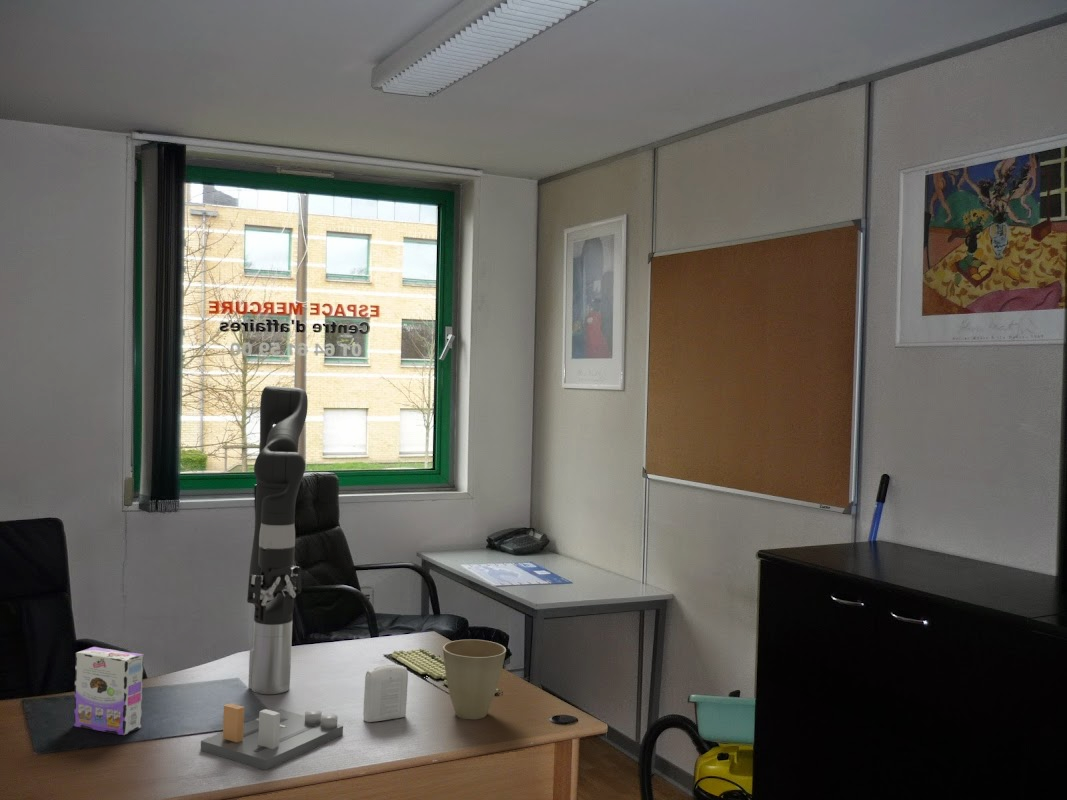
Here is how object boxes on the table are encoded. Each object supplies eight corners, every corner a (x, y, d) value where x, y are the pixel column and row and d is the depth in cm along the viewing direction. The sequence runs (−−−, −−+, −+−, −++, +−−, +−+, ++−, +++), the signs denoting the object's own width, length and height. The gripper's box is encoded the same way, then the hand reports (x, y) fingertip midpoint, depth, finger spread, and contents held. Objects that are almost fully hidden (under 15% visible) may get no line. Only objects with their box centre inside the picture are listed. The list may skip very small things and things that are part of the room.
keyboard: (382, 658, 287) (382, 649, 287) (428, 652, 295) (429, 644, 295) (463, 706, 250) (463, 695, 250) (513, 698, 258) (514, 688, 258)
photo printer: (400, 712, 242) (403, 660, 241) (408, 717, 238) (411, 665, 238) (360, 718, 236) (362, 665, 236) (368, 724, 233) (370, 670, 232)
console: (200, 750, 213) (202, 707, 212) (280, 718, 234) (282, 679, 234) (265, 770, 204) (267, 725, 204) (342, 734, 225) (344, 694, 225)
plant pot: (438, 724, 235) (441, 655, 234) (441, 703, 249) (444, 638, 249) (503, 726, 235) (506, 657, 235) (502, 705, 250) (505, 640, 250)
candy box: (142, 727, 224) (145, 653, 223) (123, 736, 218) (126, 660, 218) (91, 718, 228) (94, 645, 228) (72, 726, 223) (74, 651, 222)
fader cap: (222, 738, 214) (223, 705, 214) (229, 735, 216) (230, 703, 215) (236, 742, 212) (238, 709, 212) (243, 740, 214) (244, 706, 213)
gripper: (286, 537, 229) (283, 609, 229) (240, 546, 216) (237, 622, 217) (312, 541, 225) (309, 615, 226) (267, 550, 213) (264, 628, 213)
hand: (274, 618), depth 221 cm, fingers open, 8 cm apart
